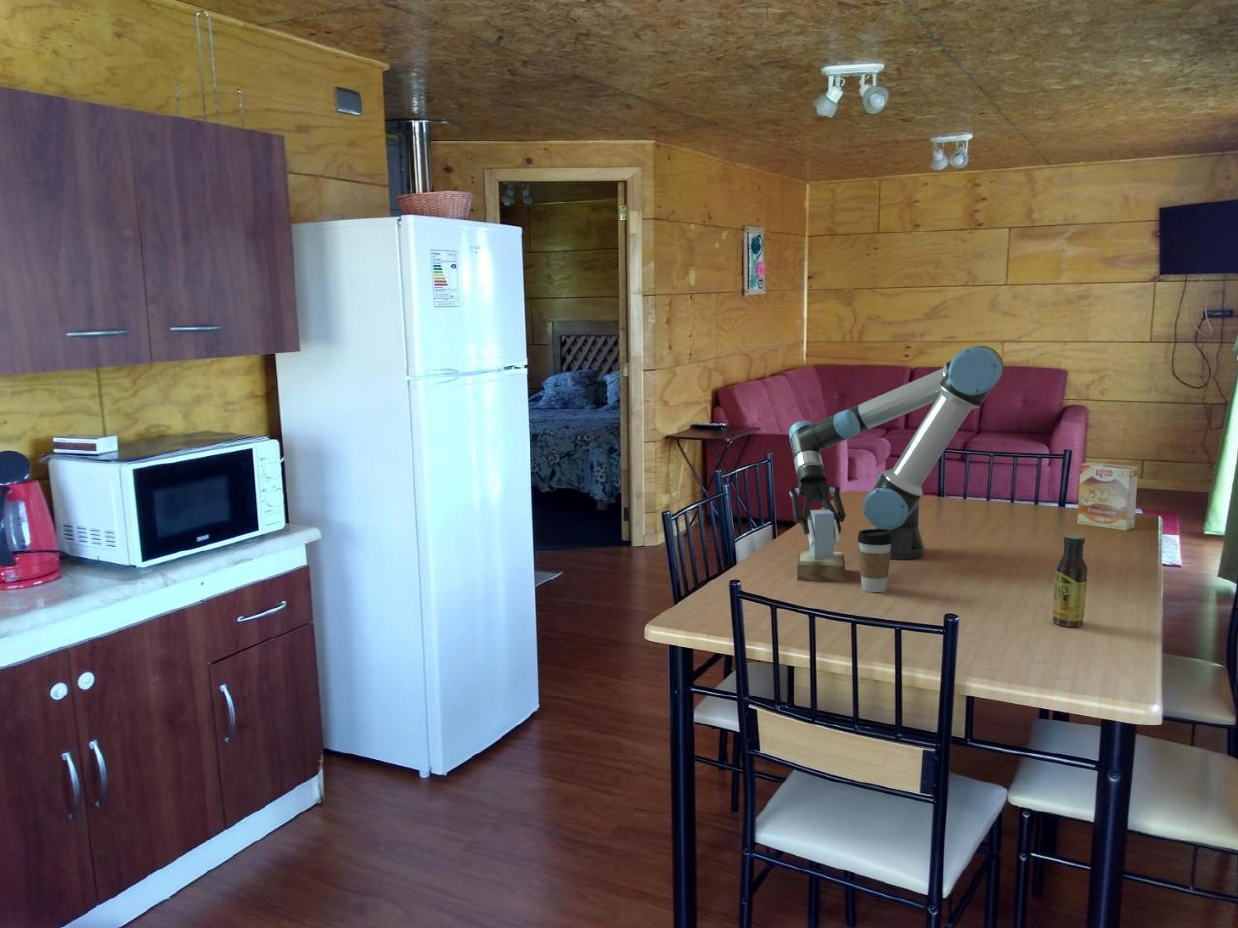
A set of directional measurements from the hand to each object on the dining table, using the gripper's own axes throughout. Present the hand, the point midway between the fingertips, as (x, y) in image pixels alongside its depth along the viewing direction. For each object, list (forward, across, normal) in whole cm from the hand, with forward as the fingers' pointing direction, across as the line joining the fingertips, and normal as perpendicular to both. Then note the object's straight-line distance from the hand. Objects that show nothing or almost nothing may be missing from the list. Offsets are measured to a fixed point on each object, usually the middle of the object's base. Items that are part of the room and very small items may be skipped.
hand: (825, 543), depth 242 cm
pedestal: (+4, 0, -9) cm, 10 cm away
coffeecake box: (-28, -103, -42) cm, 115 cm away
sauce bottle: (+36, -43, +23) cm, 61 cm away
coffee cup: (+15, -9, +1) cm, 18 cm away
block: (0, 0, -6) cm, 6 cm away
